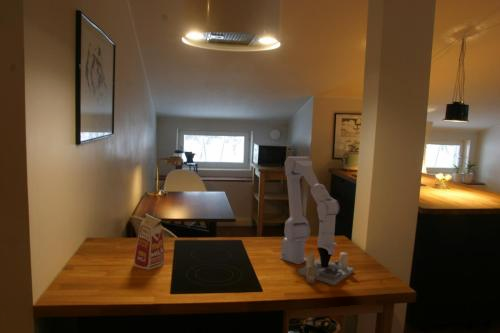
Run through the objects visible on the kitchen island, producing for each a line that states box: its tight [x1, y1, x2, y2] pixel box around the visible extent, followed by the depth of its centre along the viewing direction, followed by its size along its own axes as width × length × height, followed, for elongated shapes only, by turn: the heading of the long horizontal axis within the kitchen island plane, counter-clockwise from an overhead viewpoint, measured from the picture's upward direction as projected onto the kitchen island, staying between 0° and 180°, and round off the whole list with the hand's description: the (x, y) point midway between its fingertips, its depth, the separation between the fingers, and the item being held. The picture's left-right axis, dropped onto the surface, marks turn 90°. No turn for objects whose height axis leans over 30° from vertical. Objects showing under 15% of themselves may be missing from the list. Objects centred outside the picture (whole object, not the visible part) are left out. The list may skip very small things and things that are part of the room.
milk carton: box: [132, 213, 166, 271], centre depth 144 cm, size 9×9×20 cm
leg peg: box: [305, 265, 316, 285], centre depth 134 cm, size 3×3×6 cm
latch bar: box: [316, 261, 342, 270], centre depth 141 cm, size 9×2×2 cm, turn 90°
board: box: [298, 246, 354, 286], centre depth 144 cm, size 15×17×8 cm
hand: (324, 266), depth 139 cm, fingers closed, pressing on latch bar
